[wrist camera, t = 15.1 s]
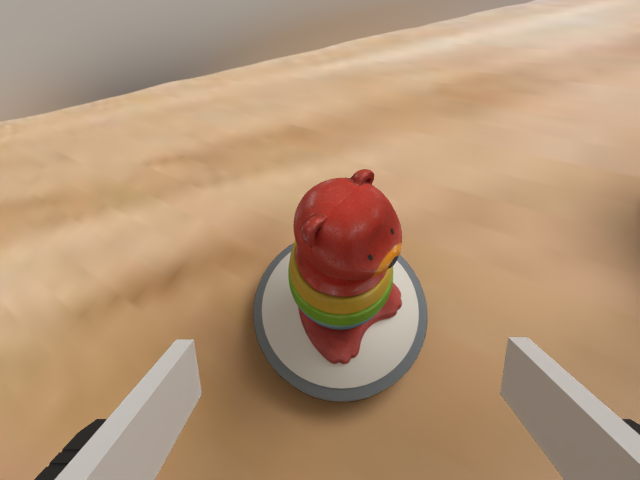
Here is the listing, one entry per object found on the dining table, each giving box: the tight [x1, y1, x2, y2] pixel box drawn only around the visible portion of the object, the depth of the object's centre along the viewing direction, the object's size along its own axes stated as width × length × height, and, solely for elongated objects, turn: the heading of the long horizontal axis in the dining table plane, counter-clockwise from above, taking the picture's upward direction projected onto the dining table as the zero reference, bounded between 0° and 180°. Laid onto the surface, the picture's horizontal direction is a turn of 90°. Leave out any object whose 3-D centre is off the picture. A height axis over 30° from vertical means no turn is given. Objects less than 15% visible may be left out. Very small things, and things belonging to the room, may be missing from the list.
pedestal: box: [253, 243, 427, 402], centre depth 35 cm, size 19×19×4 cm
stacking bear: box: [288, 169, 402, 364], centre depth 25 cm, size 11×10×18 cm
